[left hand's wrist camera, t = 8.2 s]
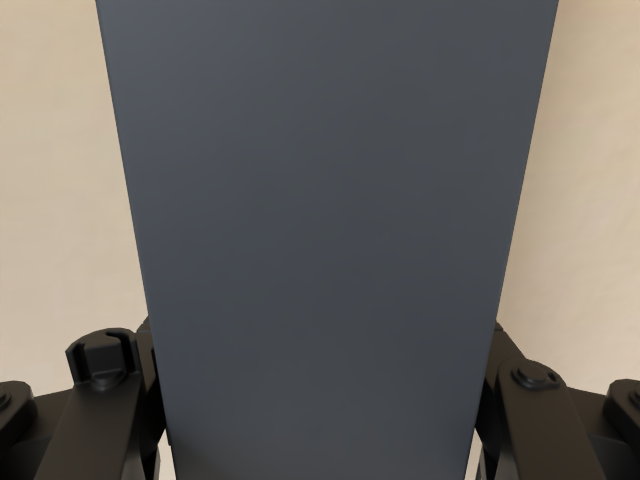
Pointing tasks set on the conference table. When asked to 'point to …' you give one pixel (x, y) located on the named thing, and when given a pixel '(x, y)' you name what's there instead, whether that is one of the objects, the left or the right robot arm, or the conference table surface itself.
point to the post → (323, 221)
